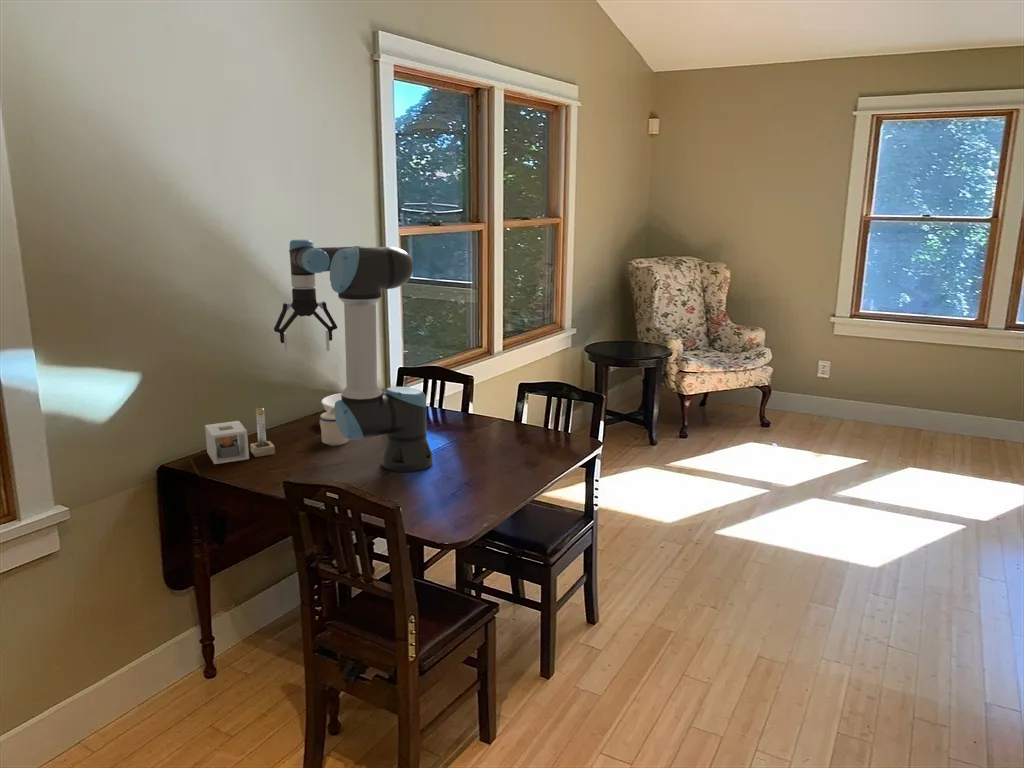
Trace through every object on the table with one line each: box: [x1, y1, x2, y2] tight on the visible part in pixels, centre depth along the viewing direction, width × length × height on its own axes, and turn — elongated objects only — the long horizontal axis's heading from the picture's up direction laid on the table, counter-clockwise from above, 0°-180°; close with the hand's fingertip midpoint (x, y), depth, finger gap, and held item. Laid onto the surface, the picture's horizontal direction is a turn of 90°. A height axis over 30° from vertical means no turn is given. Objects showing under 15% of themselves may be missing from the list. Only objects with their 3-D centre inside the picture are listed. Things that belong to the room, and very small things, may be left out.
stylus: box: [255, 407, 267, 448], centre depth 242 cm, size 2×2×14 cm
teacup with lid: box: [319, 407, 350, 447], centre depth 256 cm, size 12×9×12 cm
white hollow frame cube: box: [204, 420, 250, 465], centre depth 240 cm, size 12×10×9 cm
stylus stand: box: [250, 440, 276, 458], centre depth 244 cm, size 6×6×3 cm
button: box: [220, 435, 233, 447], centre depth 239 cm, size 3×3×4 cm
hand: (307, 351), depth 262 cm, fingers open, 13 cm apart
